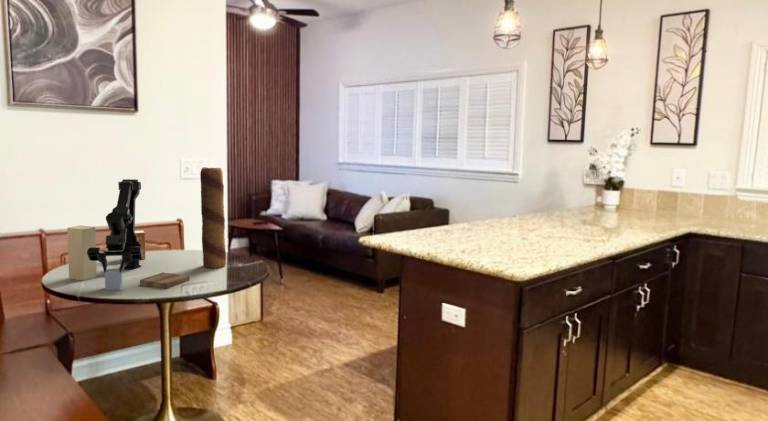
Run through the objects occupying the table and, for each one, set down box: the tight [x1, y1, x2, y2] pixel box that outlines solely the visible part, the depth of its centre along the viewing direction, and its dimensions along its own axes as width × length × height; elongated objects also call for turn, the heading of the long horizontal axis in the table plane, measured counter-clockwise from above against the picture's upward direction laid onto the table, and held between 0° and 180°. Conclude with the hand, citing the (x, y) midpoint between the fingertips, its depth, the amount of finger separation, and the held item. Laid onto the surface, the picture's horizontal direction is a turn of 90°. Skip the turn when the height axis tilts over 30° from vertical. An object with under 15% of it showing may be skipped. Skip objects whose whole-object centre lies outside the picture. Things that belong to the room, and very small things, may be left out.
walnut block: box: [139, 272, 190, 290], centre depth 216 cm, size 13×13×2 cm
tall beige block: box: [66, 225, 98, 282], centre depth 218 cm, size 8×7×21 cm
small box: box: [135, 229, 146, 261], centre depth 253 cm, size 8×6×13 cm
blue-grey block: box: [104, 268, 123, 291], centre depth 206 cm, size 5×5×7 cm
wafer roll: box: [199, 167, 227, 269], centre depth 242 cm, size 10×11×45 cm
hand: (112, 272), depth 204 cm, fingers closed on blue-grey block, 5 cm apart
